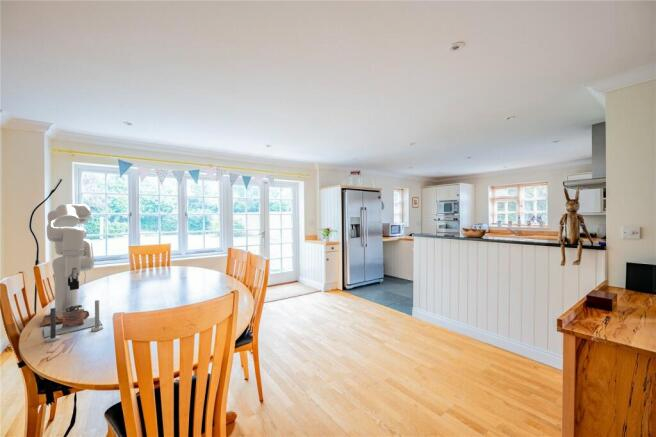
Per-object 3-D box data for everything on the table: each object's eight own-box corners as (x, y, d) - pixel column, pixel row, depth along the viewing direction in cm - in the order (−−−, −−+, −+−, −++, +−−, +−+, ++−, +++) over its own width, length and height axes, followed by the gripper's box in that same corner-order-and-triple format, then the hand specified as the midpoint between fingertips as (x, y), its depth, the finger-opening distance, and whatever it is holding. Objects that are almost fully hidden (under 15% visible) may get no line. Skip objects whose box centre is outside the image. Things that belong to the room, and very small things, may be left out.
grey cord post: (90, 329, 131) (90, 300, 131) (102, 326, 134) (102, 298, 134) (91, 332, 128) (91, 302, 128) (103, 329, 131) (103, 300, 131)
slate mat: (43, 329, 131) (43, 327, 131) (97, 317, 146) (97, 316, 146) (44, 338, 121) (44, 336, 121) (102, 325, 136) (102, 323, 136)
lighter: (60, 328, 130) (60, 307, 130) (63, 325, 133) (63, 305, 133) (82, 325, 134) (82, 305, 134) (84, 322, 137) (84, 303, 137)
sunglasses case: (36, 327, 132) (39, 313, 135) (41, 330, 137) (44, 317, 140) (85, 320, 141) (87, 308, 144) (88, 323, 146) (89, 311, 149)
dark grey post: (45, 340, 120) (45, 308, 119) (59, 336, 123) (59, 306, 123) (46, 343, 117) (46, 311, 117) (60, 339, 120) (60, 308, 120)
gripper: (61, 251, 136) (61, 285, 136) (64, 256, 124) (64, 292, 125) (81, 250, 142) (81, 282, 142) (85, 254, 130) (85, 289, 130)
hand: (73, 287), depth 133 cm, fingers open, 9 cm apart
